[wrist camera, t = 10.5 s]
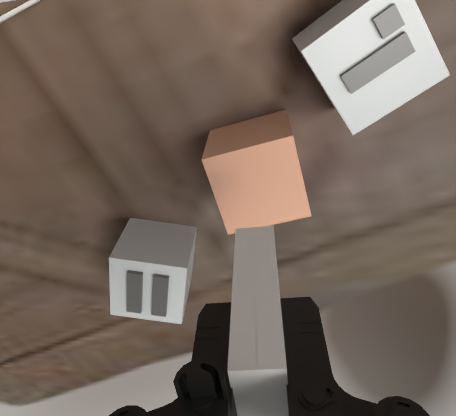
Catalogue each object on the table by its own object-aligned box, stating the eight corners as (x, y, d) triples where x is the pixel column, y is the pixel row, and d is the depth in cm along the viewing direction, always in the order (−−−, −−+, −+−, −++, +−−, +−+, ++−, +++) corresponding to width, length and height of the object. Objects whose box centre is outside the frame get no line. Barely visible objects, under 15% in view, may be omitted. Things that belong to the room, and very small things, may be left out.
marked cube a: (130, 269, 31) (109, 317, 27) (130, 216, 29) (107, 260, 24) (191, 277, 32) (181, 327, 27) (196, 226, 29) (186, 271, 24)
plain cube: (231, 195, 28) (228, 234, 23) (210, 129, 25) (201, 159, 21) (301, 178, 27) (311, 216, 22) (285, 108, 24) (293, 135, 20)
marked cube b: (335, 108, 24) (354, 137, 20) (291, 38, 22) (301, 52, 18) (411, 57, 22) (452, 76, 18) (371, -23, 21) (405, -25, 16)
